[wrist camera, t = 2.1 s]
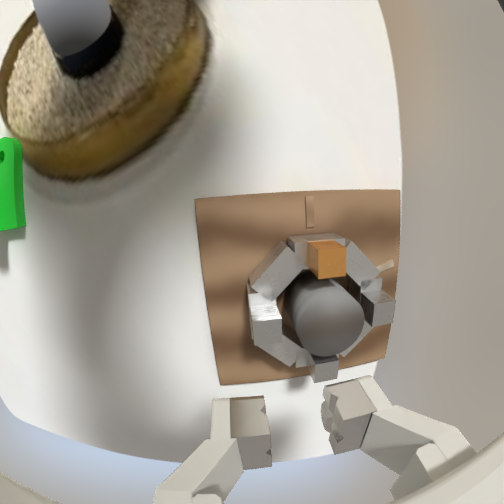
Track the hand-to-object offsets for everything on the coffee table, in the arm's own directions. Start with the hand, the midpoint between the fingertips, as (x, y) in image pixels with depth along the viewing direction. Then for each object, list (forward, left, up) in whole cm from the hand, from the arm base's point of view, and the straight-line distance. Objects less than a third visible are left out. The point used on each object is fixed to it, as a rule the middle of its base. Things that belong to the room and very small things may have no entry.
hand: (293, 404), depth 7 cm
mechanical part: (-12, -31, -22) cm, 39 cm away
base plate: (+6, +6, -21) cm, 23 cm away
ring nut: (+6, +6, -20) cm, 21 cm away
